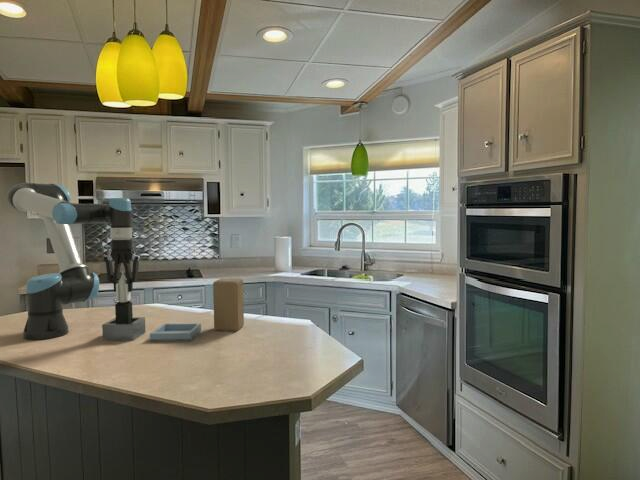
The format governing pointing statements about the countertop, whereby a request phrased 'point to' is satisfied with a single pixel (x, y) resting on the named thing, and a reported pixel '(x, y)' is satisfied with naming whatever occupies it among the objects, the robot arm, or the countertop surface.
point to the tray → (176, 332)
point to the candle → (123, 304)
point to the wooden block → (228, 304)
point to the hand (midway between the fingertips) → (123, 300)
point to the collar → (123, 329)
